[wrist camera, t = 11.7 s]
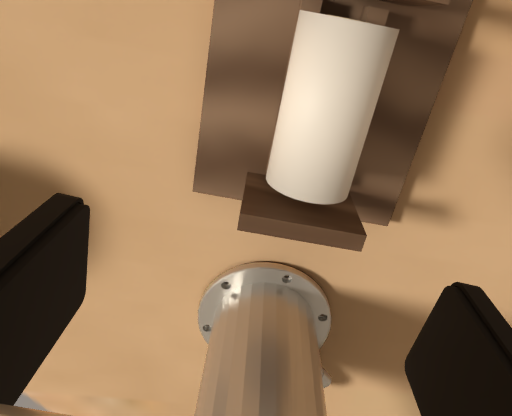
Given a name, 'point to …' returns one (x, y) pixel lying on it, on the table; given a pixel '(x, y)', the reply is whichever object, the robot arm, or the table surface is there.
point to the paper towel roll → (327, 105)
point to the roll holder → (269, 100)
